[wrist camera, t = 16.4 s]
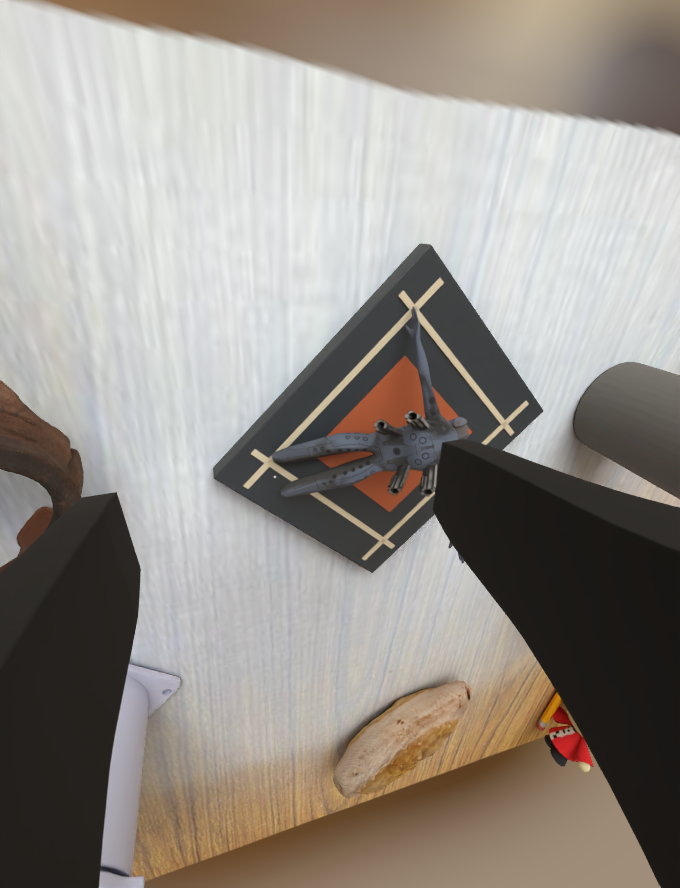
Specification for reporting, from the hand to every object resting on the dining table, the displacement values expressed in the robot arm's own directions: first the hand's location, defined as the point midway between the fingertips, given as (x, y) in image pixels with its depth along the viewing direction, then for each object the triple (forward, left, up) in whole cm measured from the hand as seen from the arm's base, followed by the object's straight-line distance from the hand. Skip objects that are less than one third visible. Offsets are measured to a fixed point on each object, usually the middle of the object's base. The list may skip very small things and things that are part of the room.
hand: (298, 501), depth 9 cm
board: (+2, -8, -10) cm, 13 cm away
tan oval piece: (-16, -30, -11) cm, 36 cm away
